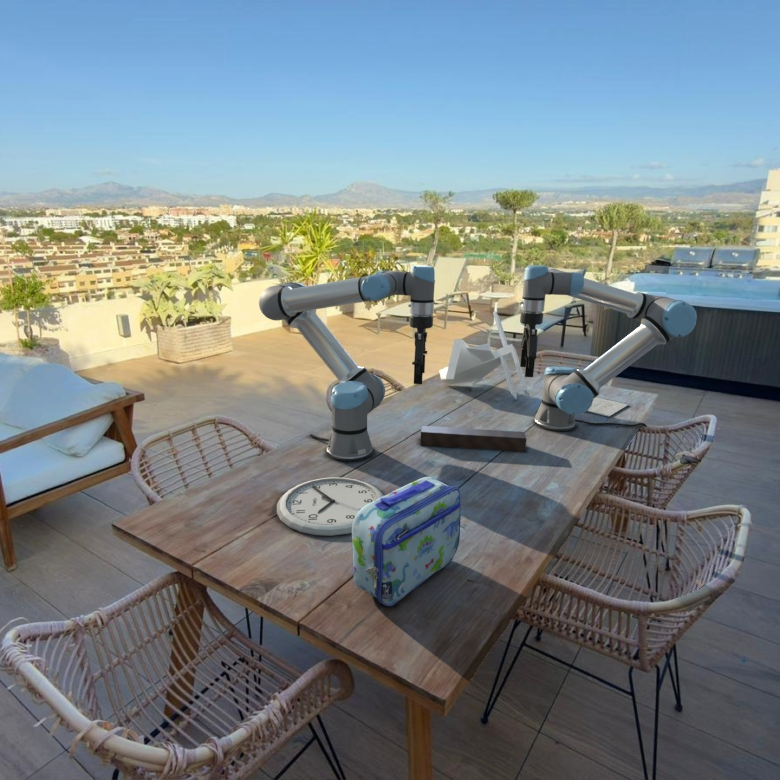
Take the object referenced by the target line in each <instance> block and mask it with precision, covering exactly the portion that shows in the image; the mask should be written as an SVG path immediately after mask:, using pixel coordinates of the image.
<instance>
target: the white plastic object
mask: <svg viewBox="0 0 780 780" xmlns="http://www.w3.org/2000/svg"><path fill="white" fill-rule="evenodd" d="M492 315H493V319H494V321H495V324H496V325H495V326H496V328H497V332H498V335H499V338H500V342H501V345H502V347H500V348H498V349H496V350H495V349H493V348H492V347H491V346H490V344H489V343H488V342H487V343H483V344H479V345H473V346H469V345H468V343H466V342H465V340H464V339H463V338H460V339H458V338H454V340H453V344H452V349H451V353H450V357H449V362H448V366H446V367H444V368H442V369H440V370H439V371H438V372H439V376H440V381H442V383H443V384H444V385H445V386H449V385H458V384H467V383H468V384H469V383H473V384H477V383H480V382H482V381H484V378H485V377H486V376H487V375H489V374H490V373H492V372H494V371H495V370H496V369H497V368H499V367H500V366H502V370H503V373H504V376H505V380H506V383H507V386H508V390H509V393H510V394H511V395H512V397H513V398H514V399H515V400H517V392H516V391H517V390H516V388H515V385H514V381H513V378H512V375H511V371H510V369H509V365H508V361H510V360H513V363H514V366H515V369H516V372H517V376H518V380H519V382H520V385H521V389H522V391H523V393H524V395H525V396H526V397H528V396H531V395H530V390H529V388H528V387H529V386H528V384H527V381H526V377H525V374H524V371H523V369H522V368H523V367H520V362H521V361H520V359H519V355H518V352H517V349H516V347H515V346H514V345H513V343H511V344H508V341H507V337H506V334H505V331H504V328H503V325H502V321H501V318H500V315H499V314H498V312H497V311H496V310H495V311H492Z"/></svg>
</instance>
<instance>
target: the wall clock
mask: <svg viewBox="0 0 780 780" xmlns="http://www.w3.org/2000/svg"><path fill="white" fill-rule="evenodd" d="M383 496H385V494H384V493H383V492H382V491H381V490H380V489H379V488H377V487H376V486H374V485H372V484H371V483H369V482H365V481H362V480H359V479H355V478H349V477H338V476H337V477H335V476H333V477H332V476H331V477H322V478H317V479H312V480H307V481H305V482H302V483H299V484H297V485H295V486H293V487H292V488H290V489H288V490H287V491H286V492H285V493H284V494H283V495H281V496H280V498H279V499H278V502H277V503H276V515H277V517H278V518H279V520H280V521H281V522H282V523H283V524H285V525H286V526H287V527H288V528H290V529H293V530H295V531H297V532H299V533H303V534H308V535H312V536H327V537H328V536H329V537H331V536H332V537H333V536H342V535H350V534H352V526H353V521H354V518H355V516H356V515H357V513H358V512H359V510H360V509H361V508H362V507H364V506H365V505H367V504H369V503H371V502H373V501H375V500H377V499H379V498H381V497H383Z"/></svg>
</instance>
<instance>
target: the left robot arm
mask: <svg viewBox="0 0 780 780" xmlns="http://www.w3.org/2000/svg"><path fill="white" fill-rule="evenodd" d="M435 275H436V274H435V268H434V267H433V266H432V265H412V266H411V268H410V271H398V270H387V269H385V270H377V271H376V272H375V274H374V273H373V274H370V275H365V276H359V277H354V278H348V279H341V280H336V281H330V282H326V283H324V282H323V283H319V284H318V283H317V284H313V285H308V286H306V285H305V284H304V283H300V282H294V281H293V282H292V281H291V282H290V281H289V282H285V283H282V284H277V285H271V286H268V287H266V288H265V289H264V290H263V291H262V292H261V294H260V295H259V298H258V307H259V310H260V312H261V313H262V315H263V316H264V317H265V318H267V319H269V320H271V321H283V320H284V321H285V323H286V324H287V325H288V326H289V328H291V329H297V330H298V332H299V333H300V334H301V335H302V338H304V339H305V340H306V342H307V343H308V344H309V346H311V348H312V350H313V351H314V352H315V353H316V354H317V356H318V357H319V358H320V359H321V361H322V362H323V363H324V364H325V366H326V367H327V368H328V369H329V370H330V372H331V373H332V374H333V375H334V377H335V378H336V379H337V380H338V383H337V384H336V385H334V386H333V388H332V390H331V397H330V402H331V434H330V437H329V438H325V437H320V436H317V435H314V434H312V433H310V434H309V437H311V438H313V439H316V440H319V441H325V442H328V443H327V446H326V454H327V455H328V456H329V457H330V458H331V459H332V460H333V459H334V460H336V461H340V462H358V461H362V460H365V459H367V458H370V456H372V454H373V444H372V441H371V438H370V434H369V433H368V415H369V414H370V413H371V412H372V411H374V410H375V409H376V408H377V407H379V406H380V405H381V403H382V402H383V401H384V398H385V395H386V387H385V384H384V382H383V381H382V379H381V377H379V376H378V375H376V374H373V373H370V372H369V370H368V369H367V368H366V367H364V366H359V365H358V364H357V363H356V361H355V360H354V359H353V358H352V356H351V355H350V354H349V353H348V351H347V350H346V349H345V348H344V345H342V344H341V343H340V341H339V340H338V339H337V337H335V335H334V334H333V333H332V331H331V330H330V329H329V328H328V326H327V325H326V324H325V322H324V321H323V320H322V319H321V318H320V317H319V315H318V314H317V310H321V309H327V308H332V307H340V306H345V305H352V304H353V305H354V304H359V303H365V302H379V301H382V300H384V299H386V298H390V297H392V296H409V298H410V299H409V300H410V303H409V304H408V308H409V313H410V316H409V327H410V328H412V329H416V331H414V336H413V337H414V360H413V361H412V362H411V365H413V384H414V385H423V374H425V373H426V371H425V370H426V355H428V350H427V348H426V343H427V340H428V339H427V338H428V331H427V330H426V329H432V328H433V326H434V316H433V315H434V311H435V310H434V309H435V300H434V297H435V285H436V280H435Z"/></svg>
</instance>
